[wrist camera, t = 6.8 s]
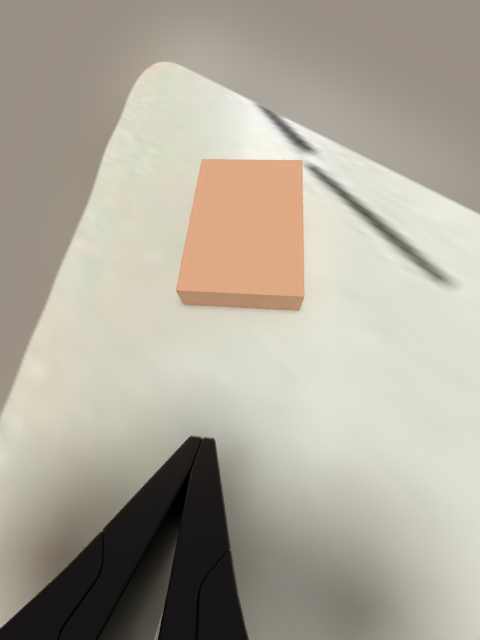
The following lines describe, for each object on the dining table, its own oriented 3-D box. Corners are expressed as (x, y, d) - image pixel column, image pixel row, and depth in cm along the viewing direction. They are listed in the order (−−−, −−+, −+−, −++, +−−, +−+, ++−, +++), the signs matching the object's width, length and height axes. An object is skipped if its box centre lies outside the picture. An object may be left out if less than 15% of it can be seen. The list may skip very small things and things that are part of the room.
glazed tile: (304, 296, 16) (302, 160, 20) (176, 290, 16) (201, 159, 21) (297, 313, 18) (297, 187, 23) (185, 307, 19) (206, 185, 23)
